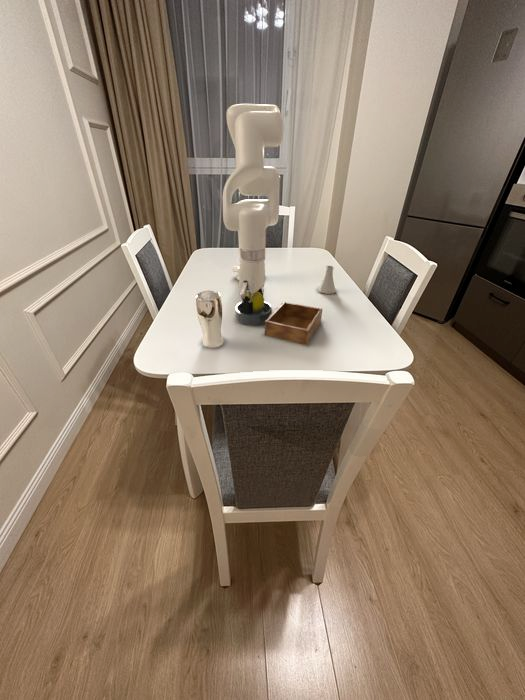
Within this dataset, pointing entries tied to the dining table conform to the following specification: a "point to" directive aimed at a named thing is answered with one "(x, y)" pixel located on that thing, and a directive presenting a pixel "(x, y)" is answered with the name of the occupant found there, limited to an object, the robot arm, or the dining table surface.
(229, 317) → the dining table surface
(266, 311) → the bowl
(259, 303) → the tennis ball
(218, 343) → the beer glass
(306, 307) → the wooden box
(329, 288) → the flask
